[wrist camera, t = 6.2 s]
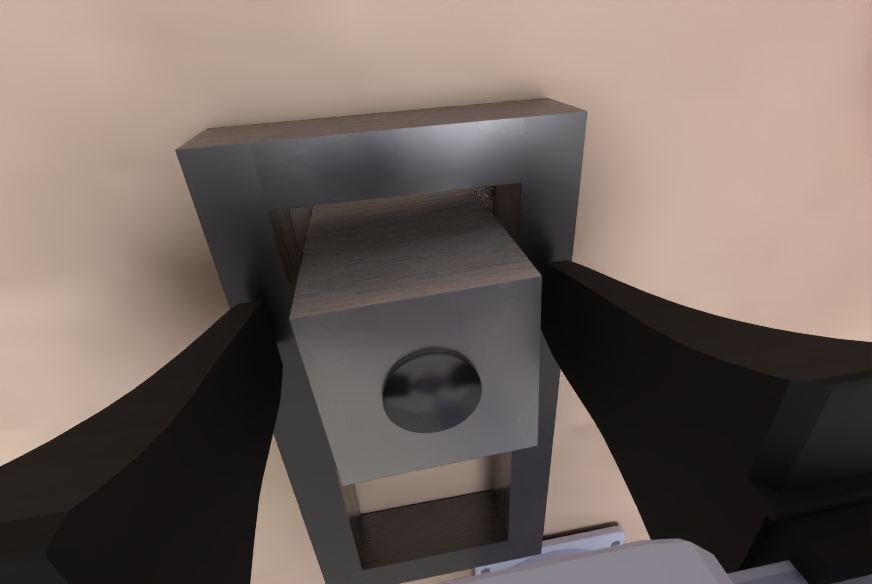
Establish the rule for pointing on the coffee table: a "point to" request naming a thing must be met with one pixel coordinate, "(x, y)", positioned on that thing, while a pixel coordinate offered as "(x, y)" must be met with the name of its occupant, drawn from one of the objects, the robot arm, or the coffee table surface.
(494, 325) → the block
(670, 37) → the coffee table surface
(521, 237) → the dark grey double frame
